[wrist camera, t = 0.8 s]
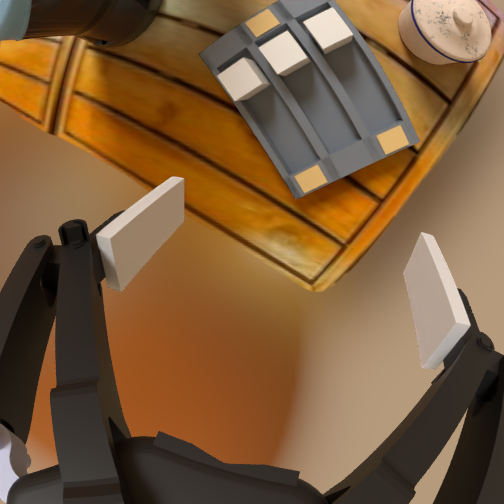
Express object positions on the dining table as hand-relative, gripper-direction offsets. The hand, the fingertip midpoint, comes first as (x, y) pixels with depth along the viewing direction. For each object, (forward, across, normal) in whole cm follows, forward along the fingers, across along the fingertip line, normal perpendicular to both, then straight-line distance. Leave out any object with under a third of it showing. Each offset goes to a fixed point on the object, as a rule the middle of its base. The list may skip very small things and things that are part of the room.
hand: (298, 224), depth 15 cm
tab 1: (+23, -9, +6) cm, 25 cm away
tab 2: (+23, -5, +10) cm, 25 cm away
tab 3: (+23, -1, +13) cm, 26 cm away
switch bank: (+24, -2, +6) cm, 25 cm away
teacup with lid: (+24, +12, +19) cm, 33 cm away
